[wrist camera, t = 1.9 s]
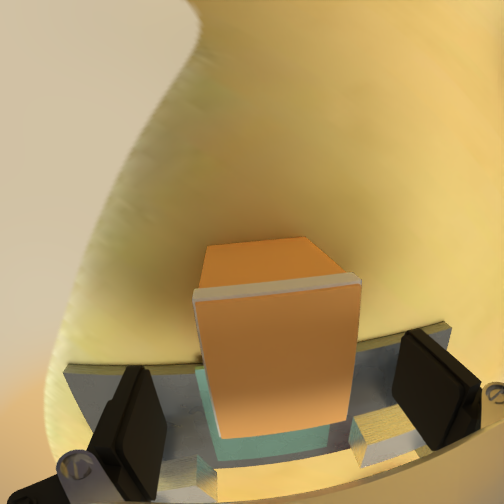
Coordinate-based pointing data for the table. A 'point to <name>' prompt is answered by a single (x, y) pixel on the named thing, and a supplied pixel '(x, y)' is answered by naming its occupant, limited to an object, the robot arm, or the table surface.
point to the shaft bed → (265, 446)
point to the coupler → (276, 336)
